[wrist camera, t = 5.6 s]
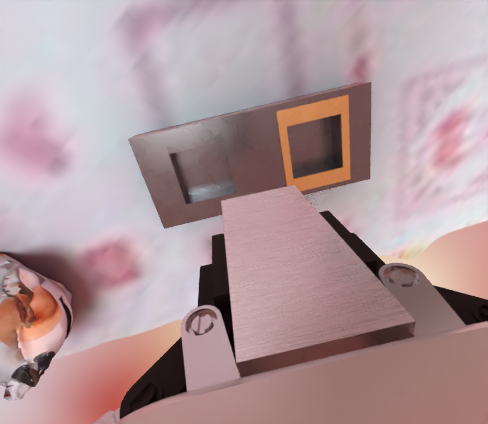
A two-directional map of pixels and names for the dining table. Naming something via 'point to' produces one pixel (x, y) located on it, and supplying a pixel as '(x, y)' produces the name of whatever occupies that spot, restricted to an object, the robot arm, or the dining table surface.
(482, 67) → the dining table surface
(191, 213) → the hole rail
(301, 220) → the steel peg
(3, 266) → the lucky cat figurine
